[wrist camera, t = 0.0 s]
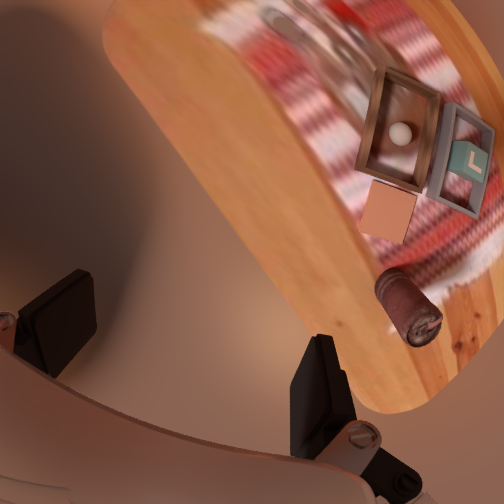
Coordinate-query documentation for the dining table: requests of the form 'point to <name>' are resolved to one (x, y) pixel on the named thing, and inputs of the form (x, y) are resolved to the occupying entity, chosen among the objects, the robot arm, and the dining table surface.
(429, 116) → the bin walnut
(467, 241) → the dining table surface
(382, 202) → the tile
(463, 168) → the letter cube
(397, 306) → the can
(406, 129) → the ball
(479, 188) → the bin grey
